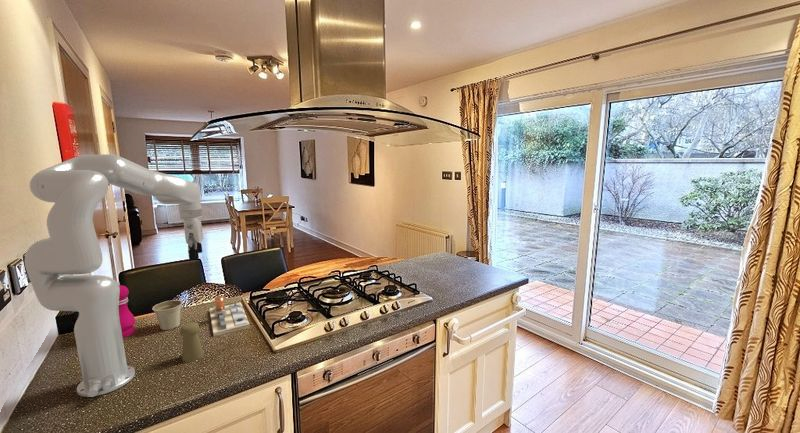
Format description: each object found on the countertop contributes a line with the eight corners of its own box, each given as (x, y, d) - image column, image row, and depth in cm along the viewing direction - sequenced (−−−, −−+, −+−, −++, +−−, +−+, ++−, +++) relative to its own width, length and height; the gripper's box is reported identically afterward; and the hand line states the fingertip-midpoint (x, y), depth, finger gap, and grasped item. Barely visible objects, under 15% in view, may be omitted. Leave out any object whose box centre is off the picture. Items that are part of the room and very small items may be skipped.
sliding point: (238, 312, 136) (237, 295, 135) (216, 317, 132) (214, 300, 131) (237, 309, 139) (236, 292, 138) (215, 314, 135) (213, 297, 133)
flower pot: (153, 326, 130) (150, 304, 128) (182, 318, 136) (179, 297, 135) (157, 335, 123) (153, 313, 121) (187, 326, 129) (184, 305, 128)
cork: (207, 354, 111) (204, 322, 109) (188, 363, 106) (184, 331, 104) (197, 349, 114) (193, 318, 112) (178, 358, 109) (173, 326, 107)
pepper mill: (107, 336, 122) (98, 283, 119) (130, 327, 129) (123, 277, 125) (117, 341, 119) (108, 287, 116) (141, 332, 125) (133, 280, 122)
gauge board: (249, 327, 128) (249, 317, 127) (213, 336, 122) (212, 326, 121) (241, 304, 148) (240, 296, 147) (209, 311, 142) (208, 302, 141)
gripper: (198, 217, 127) (203, 261, 130) (204, 210, 143) (209, 249, 146) (175, 218, 124) (181, 263, 127) (183, 211, 140) (189, 251, 143)
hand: (196, 256), depth 136 cm, fingers open, 9 cm apart
